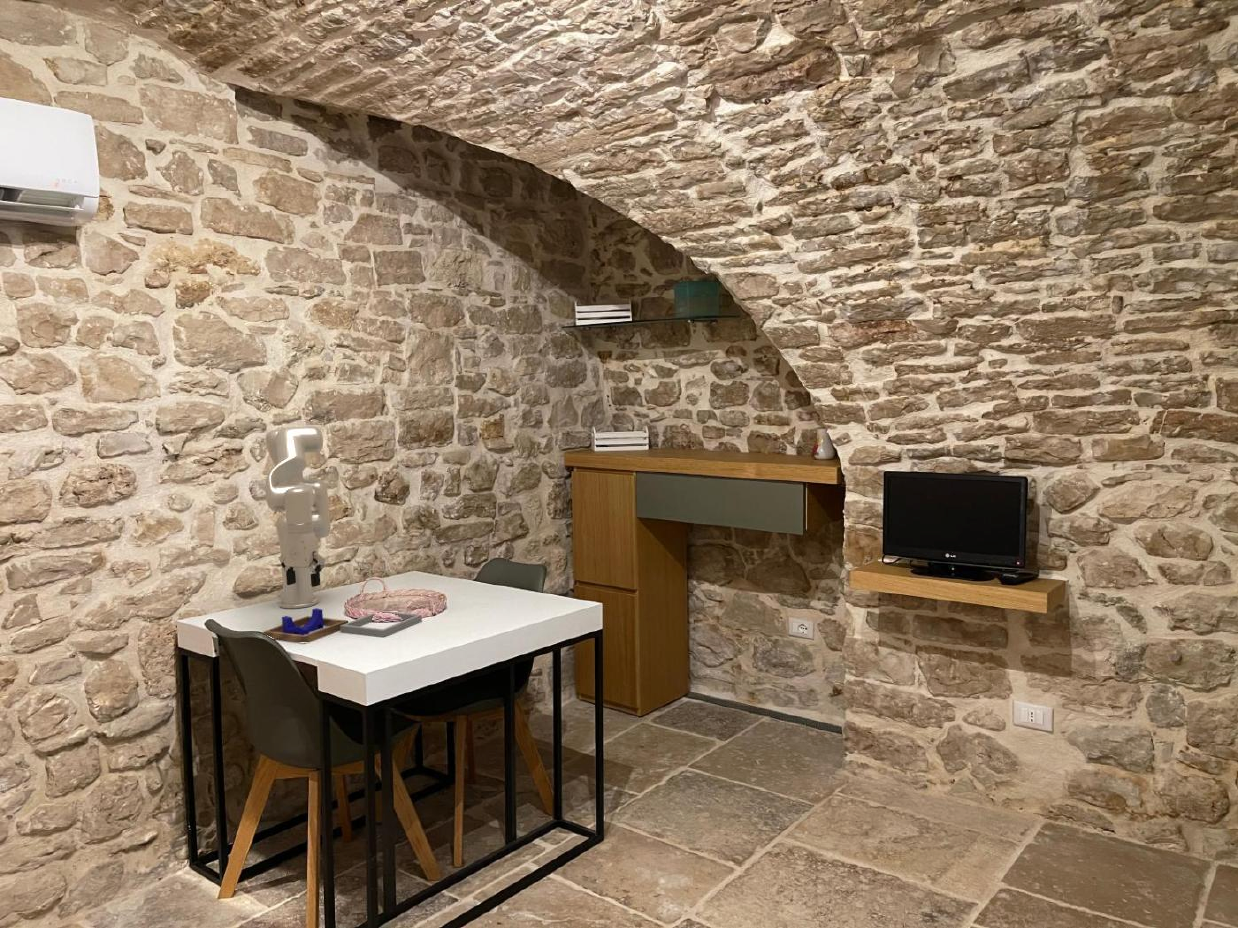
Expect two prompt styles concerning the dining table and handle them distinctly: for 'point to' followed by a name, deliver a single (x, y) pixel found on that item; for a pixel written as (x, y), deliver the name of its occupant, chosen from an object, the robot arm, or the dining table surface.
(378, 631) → the tray
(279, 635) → the walnut holder
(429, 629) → the dining table surface
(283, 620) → the blue notched cradle block
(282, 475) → the robot arm
